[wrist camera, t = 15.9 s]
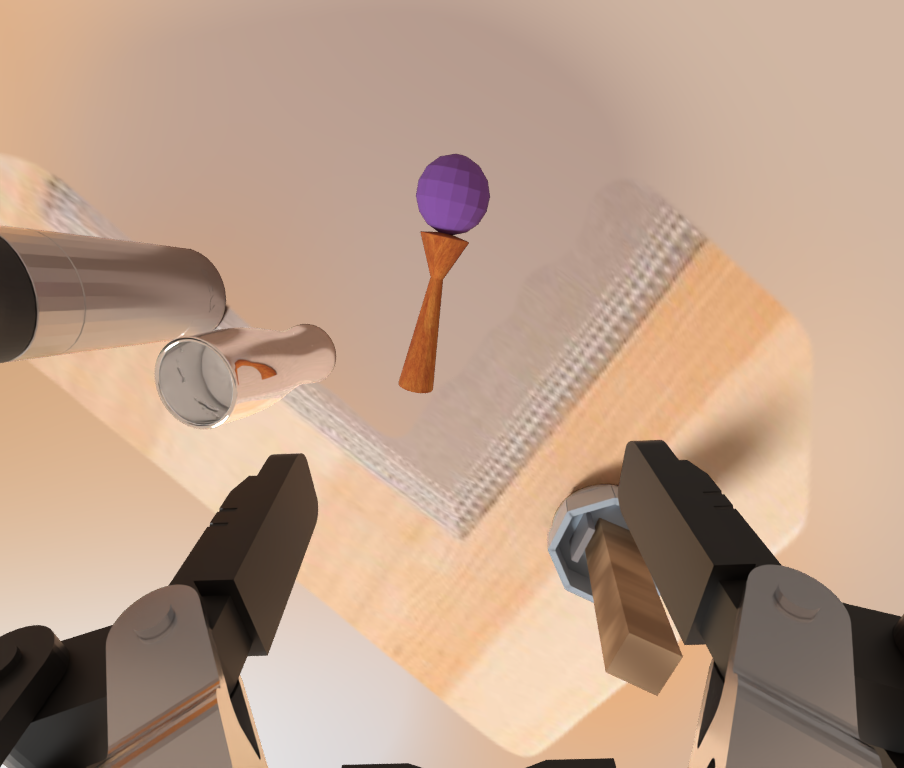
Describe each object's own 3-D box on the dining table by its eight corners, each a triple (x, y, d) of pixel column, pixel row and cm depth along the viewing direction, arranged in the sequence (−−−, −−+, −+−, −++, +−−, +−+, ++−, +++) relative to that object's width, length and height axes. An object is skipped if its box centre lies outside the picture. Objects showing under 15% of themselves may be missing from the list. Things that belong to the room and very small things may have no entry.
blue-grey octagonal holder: (633, 598, 42) (642, 629, 38) (534, 553, 43) (534, 578, 39) (685, 512, 39) (701, 536, 35) (578, 466, 40) (582, 485, 36)
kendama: (372, 383, 38) (410, 140, 32) (404, 370, 44) (443, 160, 37) (429, 404, 37) (482, 151, 30) (455, 388, 42) (506, 170, 35)
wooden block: (618, 561, 40) (657, 695, 27) (584, 546, 41) (605, 671, 27) (634, 532, 39) (682, 656, 26) (599, 517, 40) (629, 632, 26)
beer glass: (333, 395, 44) (232, 445, 29) (273, 374, 45) (147, 414, 30) (346, 330, 42) (245, 351, 28) (284, 311, 43) (155, 320, 28)
